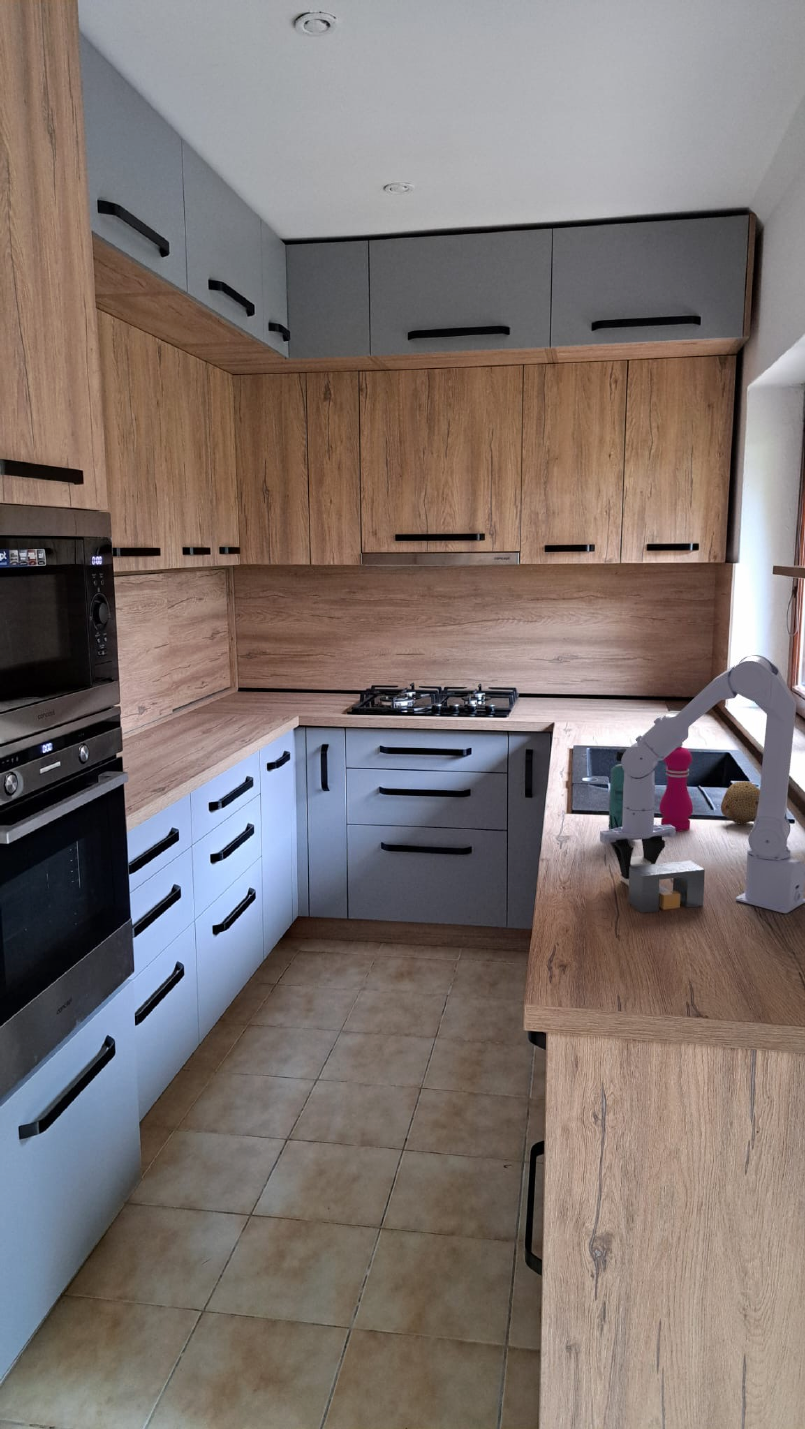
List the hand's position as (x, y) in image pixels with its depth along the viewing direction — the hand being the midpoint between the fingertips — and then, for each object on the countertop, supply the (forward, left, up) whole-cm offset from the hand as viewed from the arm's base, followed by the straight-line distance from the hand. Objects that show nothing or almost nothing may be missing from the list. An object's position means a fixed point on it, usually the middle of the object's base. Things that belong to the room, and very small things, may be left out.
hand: (636, 876), depth 186 cm
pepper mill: (+13, -36, -2) cm, 39 cm away
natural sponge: (+3, -48, -2) cm, 48 cm away
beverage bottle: (+16, -20, -2) cm, 26 cm away
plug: (-5, +3, -1) cm, 6 cm away
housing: (-10, +5, -1) cm, 11 cm away
